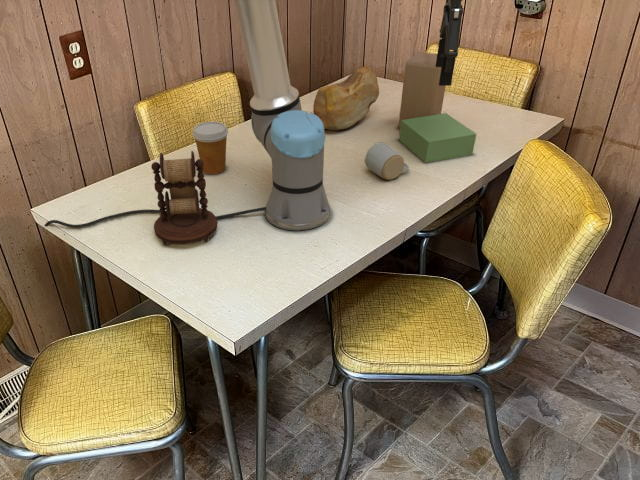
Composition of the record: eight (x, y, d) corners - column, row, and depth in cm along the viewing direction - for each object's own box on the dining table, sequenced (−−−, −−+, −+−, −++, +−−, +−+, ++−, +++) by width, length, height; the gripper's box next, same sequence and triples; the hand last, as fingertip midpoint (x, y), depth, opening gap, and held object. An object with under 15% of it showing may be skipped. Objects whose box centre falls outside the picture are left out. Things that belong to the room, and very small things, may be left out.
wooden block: (440, 122, 178) (451, 54, 166) (429, 135, 172) (440, 64, 160) (408, 117, 183) (416, 50, 170) (396, 129, 177) (404, 60, 164)
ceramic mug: (381, 184, 150) (384, 156, 145) (362, 172, 156) (365, 144, 151) (414, 175, 153) (419, 147, 149) (395, 163, 159) (399, 136, 155)
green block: (425, 163, 158) (428, 141, 155) (398, 140, 171) (401, 120, 167) (472, 154, 161) (476, 133, 157) (442, 132, 173) (445, 112, 169)
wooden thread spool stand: (218, 214, 143) (210, 136, 131) (217, 247, 132) (209, 166, 119) (158, 218, 144) (145, 141, 131) (152, 252, 132) (137, 170, 120)
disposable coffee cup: (238, 167, 163) (235, 126, 155) (213, 180, 158) (209, 138, 150) (213, 158, 168) (210, 118, 161) (189, 171, 163) (184, 129, 155)
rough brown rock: (346, 105, 196) (345, 58, 187) (385, 114, 185) (386, 64, 176) (295, 127, 186) (291, 79, 177) (333, 138, 175) (331, 87, 166)
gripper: (482, -11, 119) (463, 93, 133) (470, -34, 138) (454, 59, 152) (444, -10, 121) (429, 93, 134) (437, -33, 140) (424, 59, 153)
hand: (442, 75), depth 143 cm, fingers open, 13 cm apart
